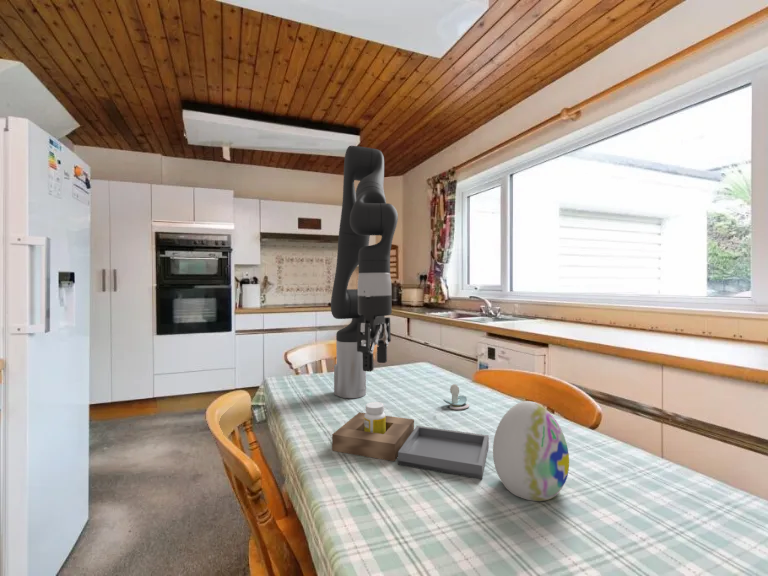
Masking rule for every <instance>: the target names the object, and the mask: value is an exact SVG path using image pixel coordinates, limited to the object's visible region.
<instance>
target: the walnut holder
mask: <svg viewBox="0 0 768 576" xmlns="http://www.w3.org/2000/svg"><path fill="white" fill-rule="evenodd" d="M365 413H366V412H360V411H359V412H358V413H356V415H354V416H353V417H352V418H350V419H349V420H348V421H347V422H346V423H344V424H343V425H342V426H341V427H339V428H337V430H336V431H334V432H333V433H332V434H331V436H332V437H331V440H332V441H331V444H332V445H331V447H332V448H331V450H332V452H338V453H342V454H343V453H344V454H350V455H355V456H361V457H366V458H367V457H368V458H371V459H373V458H374V459H379V460H384V461H390V462H396V461H397V460H398V451H399V450H400V449H401V447H402V446H403V444H404V443H405V442H406V440H407V439H408V437H409V436H410V435H411V433H412V432H413V430H414V429H415V419H413V418H406V417H399V416H390V415H385V416H386V432H385V433H384V434H379V433H372V432H366V431H364V415H365Z"/></svg>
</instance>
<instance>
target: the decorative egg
mask: <svg viewBox="0 0 768 576" xmlns="http://www.w3.org/2000/svg"><path fill="white" fill-rule="evenodd" d="M567 444H568V443H567V441H566V437H565V434H564V433H563V430H562V428H561V426H560V425H559V423H558V421H557V420H556V419H555V416H553V415H552V414H551V412H550V411H549V410H548V409H547V408H545V407H544V406H543V405H542V404H541V403H540V404H539V403H537V402H534V401H532V400H531V401H530V400H524V401H520V402H518V403H516V404H514V405H513V406H512V407H510V408H509V409H508V410H507V411H506V412H505V413H504V415H503V416H502V418H501V419H500V421H499V423H498V425H497V427H496V431H495V433H494V438H493V444H492V457H493V458H492V459H493V464H494V468H495V472H496V474H497V475H498V478H499V479H500V481H501V483H502V484H503V486H504V487H505V488H506V490H508V491H509V492H510V493H511V494H513V495H514V496H515V497H519V498H521V499H524V500H527V501H532V502H533V501H534V502H543V501H549V500H552V499H554V498H555V496H557V495H558V494H559V493H560V492H561V490H562V489H563V487H564V486H565V484H566V482H567V479H568V474H569V471H570V470H569V469H570V454H569V453H570V452H569V447H568V445H567Z"/></svg>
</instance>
